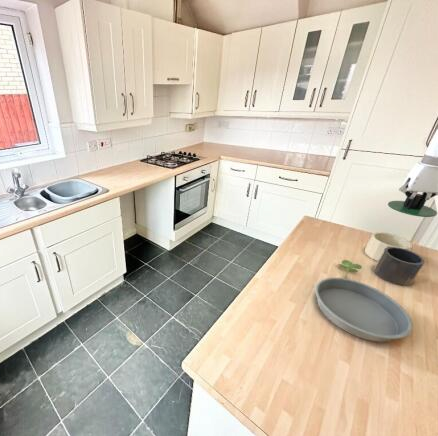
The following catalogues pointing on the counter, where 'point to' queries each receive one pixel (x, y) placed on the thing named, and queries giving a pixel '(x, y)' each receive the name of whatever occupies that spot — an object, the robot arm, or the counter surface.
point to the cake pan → (362, 310)
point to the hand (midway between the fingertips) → (411, 207)
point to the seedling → (350, 266)
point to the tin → (385, 244)
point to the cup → (398, 265)
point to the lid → (413, 208)
